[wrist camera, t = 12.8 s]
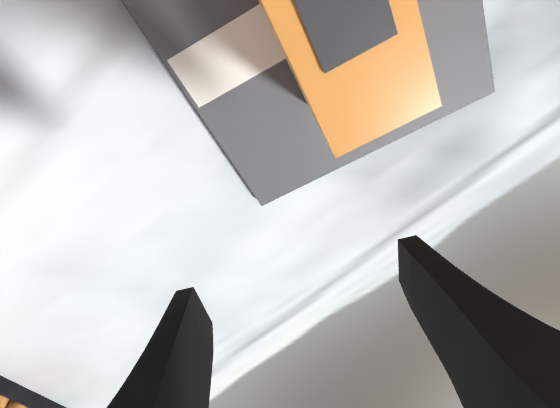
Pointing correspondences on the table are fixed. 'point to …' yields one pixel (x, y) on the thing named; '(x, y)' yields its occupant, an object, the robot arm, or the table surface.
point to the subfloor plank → (292, 83)
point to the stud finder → (356, 64)
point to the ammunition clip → (22, 397)
